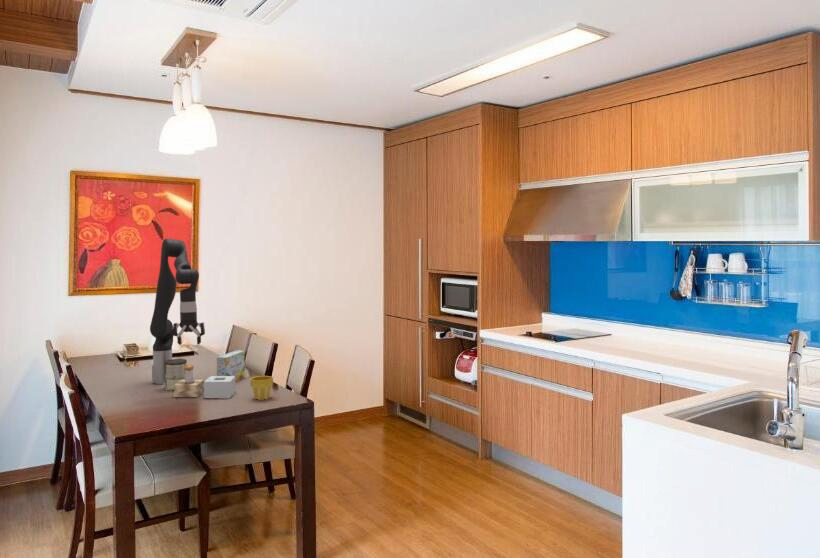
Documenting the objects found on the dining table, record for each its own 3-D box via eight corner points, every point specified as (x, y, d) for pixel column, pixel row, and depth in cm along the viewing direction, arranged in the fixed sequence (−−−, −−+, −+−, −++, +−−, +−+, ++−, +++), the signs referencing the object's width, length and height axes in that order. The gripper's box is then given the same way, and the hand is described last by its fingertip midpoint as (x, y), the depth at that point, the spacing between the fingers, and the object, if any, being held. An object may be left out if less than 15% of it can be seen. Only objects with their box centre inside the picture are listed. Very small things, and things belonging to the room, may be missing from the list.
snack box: (226, 386, 314) (225, 357, 313) (216, 386, 315) (215, 356, 315) (245, 377, 335) (245, 350, 334) (235, 377, 336) (235, 349, 335)
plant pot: (254, 395, 296) (254, 375, 296) (275, 395, 296) (275, 375, 295) (247, 401, 286) (247, 380, 285) (270, 401, 286) (269, 380, 285)
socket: (204, 398, 290) (203, 381, 290) (210, 392, 302) (210, 376, 302) (230, 398, 291) (229, 381, 290) (235, 392, 303) (235, 375, 302)
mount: (174, 397, 292) (173, 385, 291) (181, 392, 303) (180, 380, 302) (197, 397, 292) (197, 384, 292) (204, 391, 303) (203, 379, 303)
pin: (183, 396, 295) (182, 366, 294) (186, 393, 299) (185, 364, 299) (192, 395, 295) (192, 366, 294) (195, 393, 300) (194, 364, 299)
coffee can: (162, 388, 310) (161, 360, 309) (181, 385, 317) (181, 358, 316) (170, 392, 302) (170, 363, 302) (190, 388, 310) (190, 360, 309)
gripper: (170, 312, 291) (171, 346, 292) (201, 311, 292) (202, 345, 293) (175, 310, 298) (176, 343, 299) (205, 309, 300) (206, 342, 301)
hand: (189, 344), depth 296 cm, fingers open, 8 cm apart
